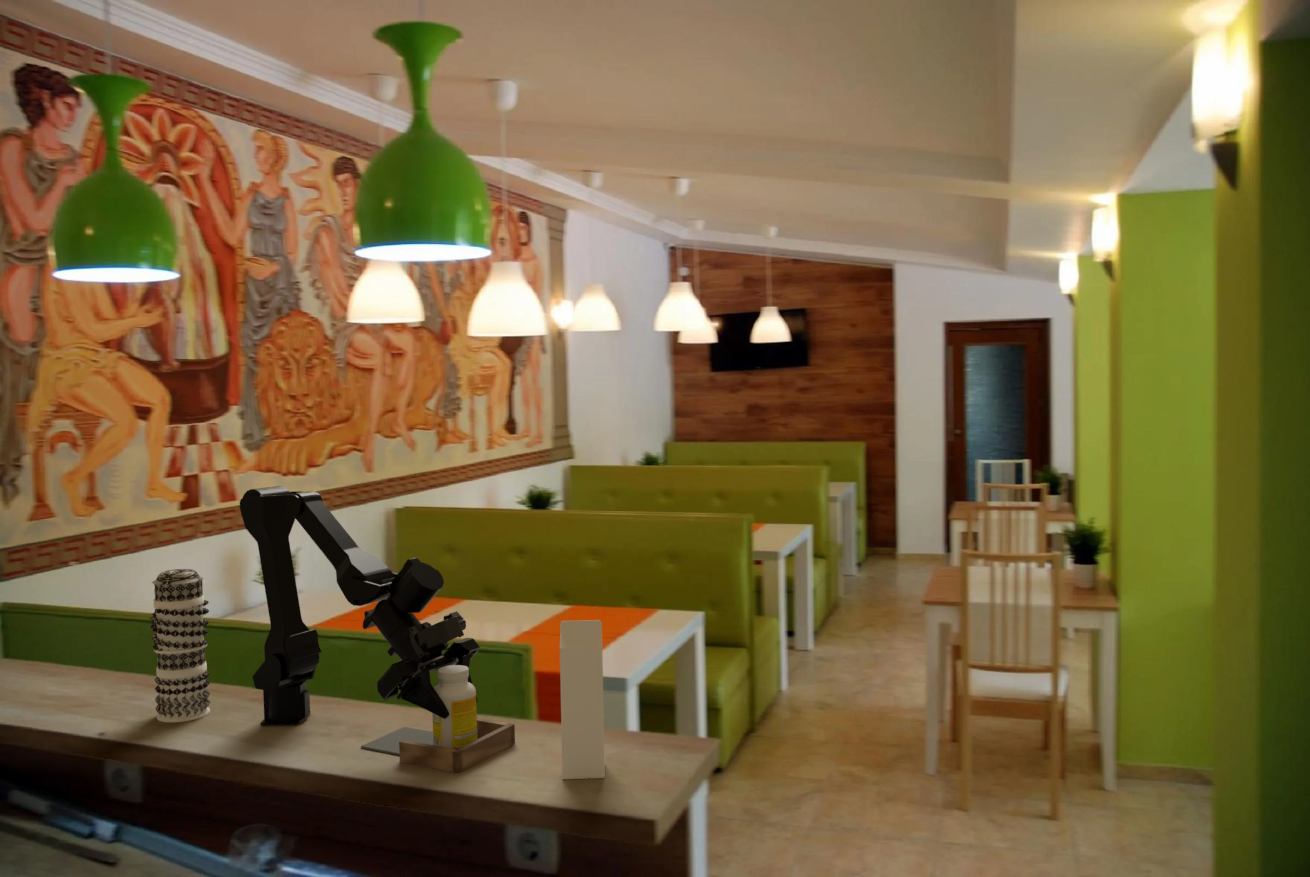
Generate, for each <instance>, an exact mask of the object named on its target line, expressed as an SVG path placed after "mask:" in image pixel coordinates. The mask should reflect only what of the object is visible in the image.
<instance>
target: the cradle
mask: <svg viewBox="0 0 1310 877" xmlns="http://www.w3.org/2000/svg"><path fill="white" fill-rule="evenodd" d="M514 744H516V728H515V723H509V722H502V721H498V720H492V719H486V718H479V717H477V740H475V741H473V742H471V743H469V744H467V745H465V746H463V747H461V748H459V749H451V748H446V747H441V746H435V745H430V744H424V743H419V742H414V741H408V740H402V741H400V742H399V752H400V755H399V762H400V763H406V764H410V765H414V766H415V765H416V766H421V767H425V768H430V769H436V770H441V771H446V772H450V771H451V772H450V773H454V774H455V773H456V774H460V773H462V772H463V771H465V770H467V769H469V768H471V767H473V766H475V765H476V764H479V763H480V762H482V761H484V760H486V759H488V758H489V757H491V756H494V755H495V754H498V753H499V752H501V751H503V750H505V749H506V748H509V747H510V746H513V745H514Z"/></svg>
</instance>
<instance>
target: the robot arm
mask: <svg viewBox="0 0 1310 877" xmlns="http://www.w3.org/2000/svg"><path fill="white" fill-rule="evenodd" d="M239 510H240V514H241V518H242V521H243V524H244V527H245V529H246V531H247V532H248V533H249V534H250V535H251V537H252V538H253V539H254V540H255V542H256V543H257V548H258V549H257V550H258V554H259V560H260V566H261V574H262V578H263V585H264V592H265V597H266V603H267V609H268V611H267V612H268V616H269V622H270V629H269V632H268V635H267V637H266V640H265V643H264V646H263V647H264V648H263V649H264V650H263V651H264V661H263V663H262V664H261V665H260V666H259V667H258V669H257V670H256V671H255V673H253V675H252V681H253V685H254V688H255V689H256V690H260V691H261V690H262V692H263V693H262V695H263V696H262V698H263V717H264V718H263V719H262V720H261V721H260V722H259V724H260V726H298V725H300V724H301V723H302V722H303V721H304V720H305V719H306V718H308V716H309V715H311V712H312V711H311V701H310V700H311V699H310V698H311V697H310V695H311V694H310V690H309V689H307V681H308V680H310V681H311V680H314V677H315V676H314V675H315V673H316V669H317V665H318V664H319V663H320V653H322V649H321V647H320V643H319V632H318V631H317V629H315V628H314V629H311V630H310V628H309V627H308V626H307V624H305V623H304V621H303V618H302V612H301V607H300V605H301V604H300V600H299V595H298V588H297V582H296V576H295V575H296V574H295V570H294V563H293V556H292V551H291V544H290V534H291V532H292V529H293V527H294V523H295V521H297V522H298V524H299V525H300V526H301V527H302V529H303V530H304V531H305V532H306V533H307V535H308V536H309V537H310V538H311V540H312V542H314V544H315V545H316V546H317V547H318V549H319V550H320V551H321V553H323V555H324V556H325V558H326V559H327V560H328V561H329V563H330V565H332V567H333V568H334V570H335V577H336V583H337V586H338V587H339V589H340V590H341V592H342V594H343V596H344V598H345V599H346V600H347V602H348V603H349V604H350V605H352V606H357V607H362V606H366V605H369V604H374V603H377V604H376V605H375V606H374V607H373V608H372V609H369V610H366V611H364V612H363V613H364V617H363V622H362V629H363V630H367V629H370V628H374V627H376V628H377V630H378V631H379V632H380V634H381V635H382V636H383V638H384V639H385V641H386V642H387V644H388V645H389V646H390V647H389V648H388V650H387V651H386V652H387V654H388V655H389V656H390V657H393V656H397V657H398V659H399V660H400V661H397V662H394V663H392V664H391V665H390V666H389V668H388V669H387V670H386V671H385V672H384V674H383V675H382V676H381V677H380V678H379V679H378V680H377V682H376V690H377V692H378V694H379V696H380V697H381V698H382V700H383V701H386V700H389V699H391V698H394V697H396V700H398V701H401V700H402V701H405V702H408V703H410V704H413V705H415V706H417V707H420V708H422V709H424V710H426V711H427V712H430V713H434V714H436V715H438V716H439V717H441V718H443V719H446V718H447V717H448V716H449V712H448V710H447V708H446V706H445V705H444V703H443V701H442V700H441V698H440V697H439V695H438V694H437V692H436V691H435V689H434V688H435V687H434V686H433V685H432V681H431V674H430V673H433V672H435V671H438V669H439V668H441V667H445V666H451V665H463V666H467V667H468V668H469V669H470V664H471V663H470V661H472V659H473V658H474V656H475V655H476V654H477V653H478V651H479V650H480V649H481V647H480V645H479V644H478V642H476V639H475V638H473V637H465V638H462V637H464V636H465V633H464V630H466V627H467V621H466V620H465V619H464V617H463V616H462V615H461V614H460V613H459V612H458V611H457V610H456V611H453V612H450V613H449V614H445V615H444V616H443V620H441V621H438V622H436V623H434V624H431V623H430V622H428V621H425V622H423V623H422V622H421V621H420V620H419V619H418V617H417V616H416V615H415V614H418V613H422V612H423V611H424V610H425V609H426V607H427V606H428V605H429V604H430V603H431V602H432V600H433V599H434V598H435V597H436V595H437V594H438V593H439V592H440V591H441V589H442V588H443V586H444V585H445V584H444V582H445V581H444V577H443V576H442V574H441V572H440V571H439V570H438V568H437V569H435V567H433V566H431V565H430V564H428V563H426V562H425V563H424V562H421V560H420V559H419V558H418V557H413V558H408V559H407V560H406V561H405V563H404V564H403V565H402V568H401V569H400V570H399V572H398V573H397V572H393V571H392V569H390V568H389V567H388V565H386V564H385V563H384V562H383V561H382V560H380V559H379V558H378V556H377V557H376V556H375V555H373V554H370V553H368V552H366V551H364V550H363V549H362V548H360V546H358V544H357V542H356V541H355V540H354V539H353V538H352V536H350V534H349V533H348V532H347V530H346V529H345V528H344V527H343V526H342V524H341V523H340V522H339V520H337V518H336V517H335V516H334V515H333V513H332V512H331V511H330V510H329V508H328V506H326V505H325V503H324V501H323V497H322V496H321V494H320V493H318V492H317V491H314V490H309V491H304V490H303V491H302V490H301V491H291V490H289V489H287V488H286V487H285V486H283V485H276V486H268V487H267V486H266V487H260V488H258V487H257V488H251V489H247V490H246V491H245V493H244V494H243V496H242V498H241V499H240V500H239ZM456 638H462V639H459V640H457V641H454V642H453V643H452V644H451V645H449V643H448V642H449V641H452V640H455V639H456ZM447 647H448V648H447ZM446 649H447V650H446ZM444 650H445V652H444V653H443V651H444ZM468 682H469V683H471V684H473V681H472V677H471V671H469V676H468ZM473 685H474V684H473ZM399 691H400V692H399ZM478 702H479V700H478V697H477V695H476V705H477V704H478Z"/></svg>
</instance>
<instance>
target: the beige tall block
mask: <svg viewBox="0 0 1310 877" xmlns="http://www.w3.org/2000/svg"><path fill="white" fill-rule="evenodd" d="M559 627H560V629H559V630H560V632H559V633H560V635H559V674H560V675H559V677H560V720H561V723H560V724H561V728H560V729H561V764H562V765H561V767H562V768H561V770H562V772H561V775H562V780H585V779H586V780H587V779H589V778H590V779H605V766H606V765H605V723H604V722H605V718H604V712H605V711H604V710H605V709H604V675H603V674H604V669H603V668H604V665H603V661H604V660H603V629H602V628H603V623H602V620H600V619H590V620H588V619H587V620H562V621H561V622H560V624H559Z"/></svg>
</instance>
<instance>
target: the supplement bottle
mask: <svg viewBox="0 0 1310 877" xmlns="http://www.w3.org/2000/svg"><path fill="white" fill-rule="evenodd" d="M469 672H470V667H469V668H468V667H467V666H463V665H451V666H445V667H441V668H439V669H438V670H437V679H438V681H439V684H437V685H435V686H434V687H433V688H434V689H435V691H436V692H437V694H438V695H439V697H440V698H441V700H442V701H443V703H444V705H445V706H446V708H447V710H448V712H449V716H448V717H447V718H446V719H443V718H441V717H439V716H438V715H436V714H434V713H432V712H431V713H432V732H433V745H435V746H441V747H446V748H451V749H459V748H461V747H463V746H465V745H467V744H469V743H471V742H473V741H475V740H477V718H478V716H477V714H478V713H477V704H476V696H477V690H476V687H475V686H474V684H471V683H469V682H468V676H469Z"/></svg>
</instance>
